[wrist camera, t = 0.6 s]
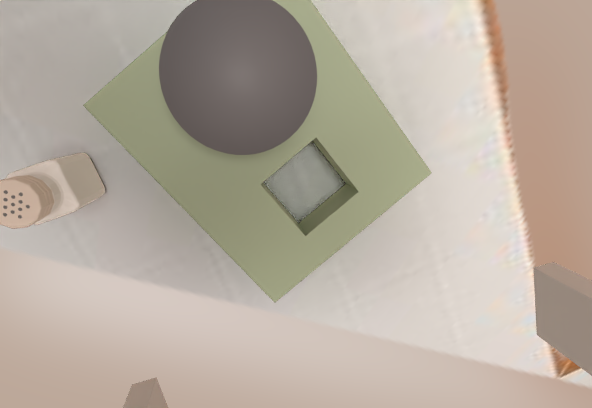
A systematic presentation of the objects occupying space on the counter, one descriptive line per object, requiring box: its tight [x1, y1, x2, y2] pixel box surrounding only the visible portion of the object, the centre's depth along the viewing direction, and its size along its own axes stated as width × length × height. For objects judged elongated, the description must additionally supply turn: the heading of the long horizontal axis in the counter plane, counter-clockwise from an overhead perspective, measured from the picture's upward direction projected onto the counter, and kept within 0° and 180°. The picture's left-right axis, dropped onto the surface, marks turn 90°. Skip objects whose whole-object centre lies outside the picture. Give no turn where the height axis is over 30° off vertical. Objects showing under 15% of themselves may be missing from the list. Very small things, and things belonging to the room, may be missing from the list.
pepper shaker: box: [0, 153, 105, 229], centre depth 28 cm, size 4×4×10 cm
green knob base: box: [83, 0, 431, 302], centre depth 29 cm, size 22×18×9 cm
